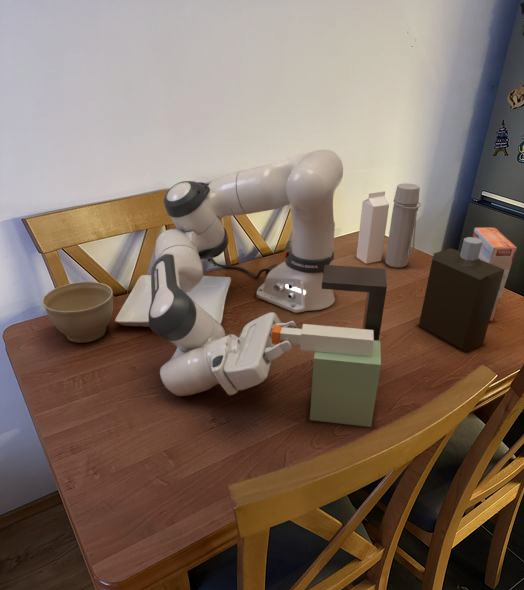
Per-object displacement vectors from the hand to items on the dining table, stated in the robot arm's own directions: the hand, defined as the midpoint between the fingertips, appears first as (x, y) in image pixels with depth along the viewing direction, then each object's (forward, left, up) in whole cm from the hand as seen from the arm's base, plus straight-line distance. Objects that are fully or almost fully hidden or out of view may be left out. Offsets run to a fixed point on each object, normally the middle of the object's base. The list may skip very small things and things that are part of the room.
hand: (292, 334), depth 91 cm
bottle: (+22, +44, -17) cm, 52 cm away
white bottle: (+5, +2, -2) cm, 6 cm away
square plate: (-46, +21, -17) cm, 53 cm away
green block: (+10, +4, -17) cm, 20 cm away
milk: (-12, +79, -17) cm, 82 cm away
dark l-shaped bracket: (+6, +14, -17) cm, 23 cm away
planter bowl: (-58, -1, -17) cm, 60 cm away
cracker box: (+25, +61, -17) cm, 68 cm away
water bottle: (-2, +79, -17) cm, 81 cm away
